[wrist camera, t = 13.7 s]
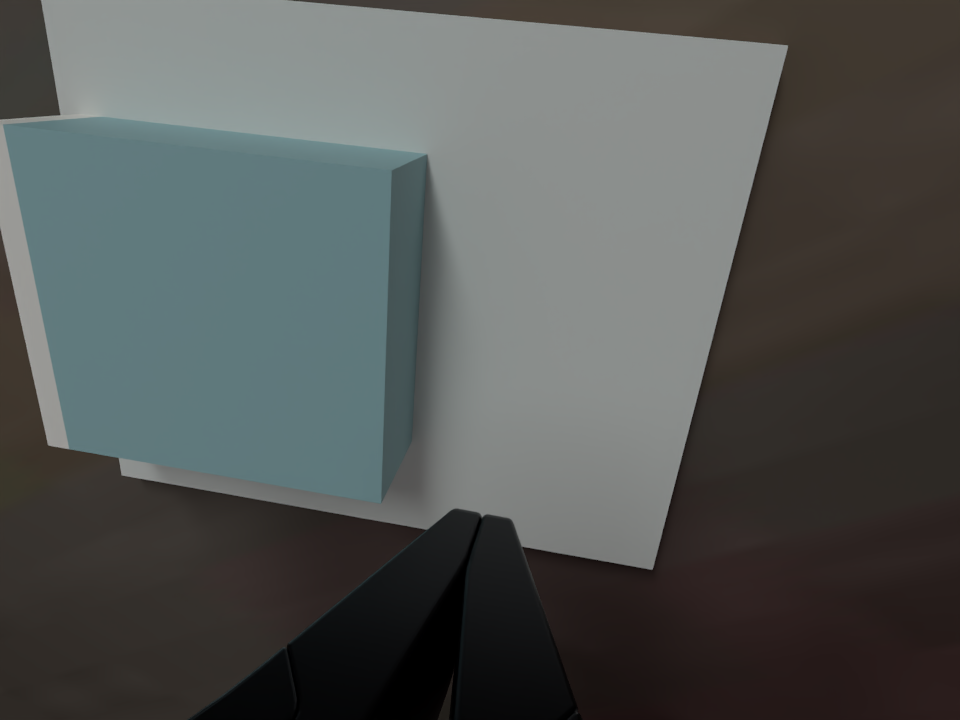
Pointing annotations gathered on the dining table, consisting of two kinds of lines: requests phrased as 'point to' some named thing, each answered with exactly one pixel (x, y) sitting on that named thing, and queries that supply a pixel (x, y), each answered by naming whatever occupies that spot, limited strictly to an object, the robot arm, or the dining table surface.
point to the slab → (218, 297)
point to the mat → (491, 229)
